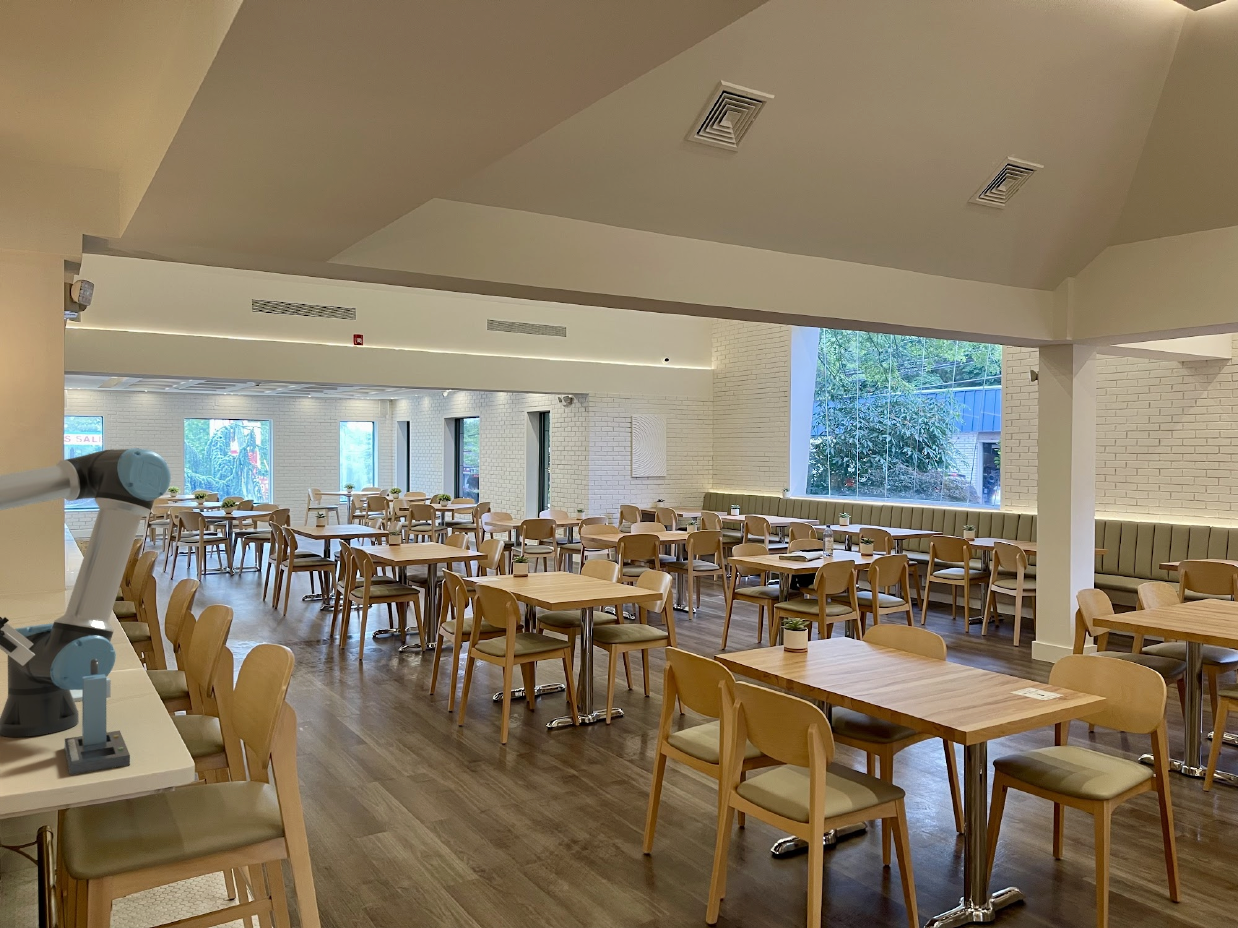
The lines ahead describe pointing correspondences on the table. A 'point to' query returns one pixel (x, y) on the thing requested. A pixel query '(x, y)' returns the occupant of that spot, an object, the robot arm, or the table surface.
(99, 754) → the port panel
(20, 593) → the table surface
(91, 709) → the plug
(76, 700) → the hard drive
